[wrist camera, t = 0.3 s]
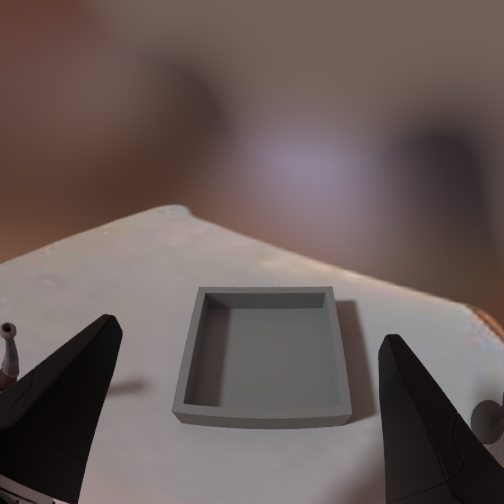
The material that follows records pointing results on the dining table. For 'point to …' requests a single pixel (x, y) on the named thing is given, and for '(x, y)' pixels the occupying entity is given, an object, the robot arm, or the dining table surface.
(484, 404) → the sundae
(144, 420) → the dining table surface
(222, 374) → the tray
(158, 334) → the dining table surface
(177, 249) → the dining table surface
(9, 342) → the drinking horn
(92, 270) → the dining table surface
